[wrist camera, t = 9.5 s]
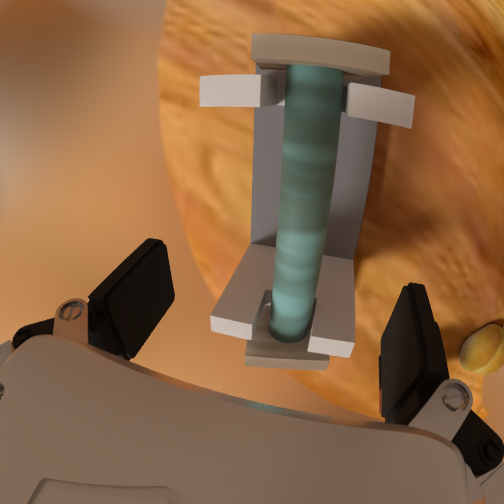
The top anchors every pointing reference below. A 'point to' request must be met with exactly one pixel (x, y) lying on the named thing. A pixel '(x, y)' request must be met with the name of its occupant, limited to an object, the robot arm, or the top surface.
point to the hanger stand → (268, 192)
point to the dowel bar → (304, 184)
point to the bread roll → (483, 350)
